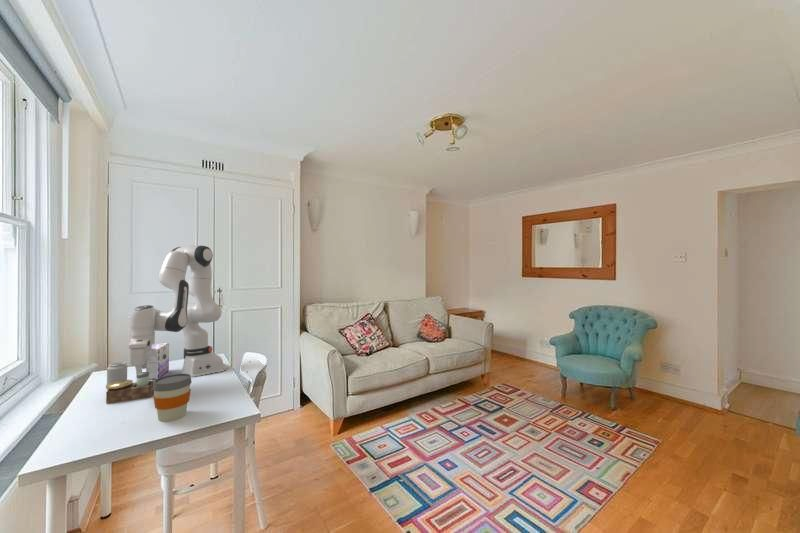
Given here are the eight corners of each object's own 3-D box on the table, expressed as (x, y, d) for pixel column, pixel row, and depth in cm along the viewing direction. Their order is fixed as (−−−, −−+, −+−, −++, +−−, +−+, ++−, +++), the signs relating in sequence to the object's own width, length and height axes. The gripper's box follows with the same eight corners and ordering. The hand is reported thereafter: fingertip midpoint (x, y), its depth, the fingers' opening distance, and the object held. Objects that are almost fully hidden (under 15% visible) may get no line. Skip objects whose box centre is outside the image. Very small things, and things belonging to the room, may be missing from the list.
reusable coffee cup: (185, 406, 134) (185, 371, 134) (195, 415, 126) (196, 377, 126) (148, 417, 124) (148, 379, 125) (157, 427, 116) (157, 386, 117)
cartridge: (150, 392, 149) (150, 371, 149) (147, 395, 145) (147, 374, 145) (137, 394, 147) (137, 372, 147) (134, 397, 143) (135, 375, 143)
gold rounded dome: (134, 391, 148) (135, 378, 148) (129, 398, 140) (129, 384, 140) (109, 394, 144) (109, 381, 144) (102, 402, 136) (102, 388, 136)
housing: (155, 390, 152) (155, 379, 152) (151, 396, 144) (151, 385, 144) (113, 396, 145) (113, 385, 145) (106, 403, 137) (106, 392, 137)
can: (131, 385, 158) (131, 361, 158) (116, 391, 151) (116, 366, 151) (117, 384, 159) (118, 360, 159) (102, 390, 151) (102, 365, 152)
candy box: (157, 372, 179) (157, 343, 179) (169, 371, 180) (169, 342, 180) (145, 380, 165) (145, 348, 166) (158, 379, 167) (159, 348, 167)
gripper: (139, 337, 154) (139, 366, 153) (127, 345, 136) (126, 378, 135) (155, 336, 157) (155, 364, 156) (145, 344, 139) (145, 376, 138)
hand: (141, 371), depth 146 cm, fingers open, 8 cm apart
